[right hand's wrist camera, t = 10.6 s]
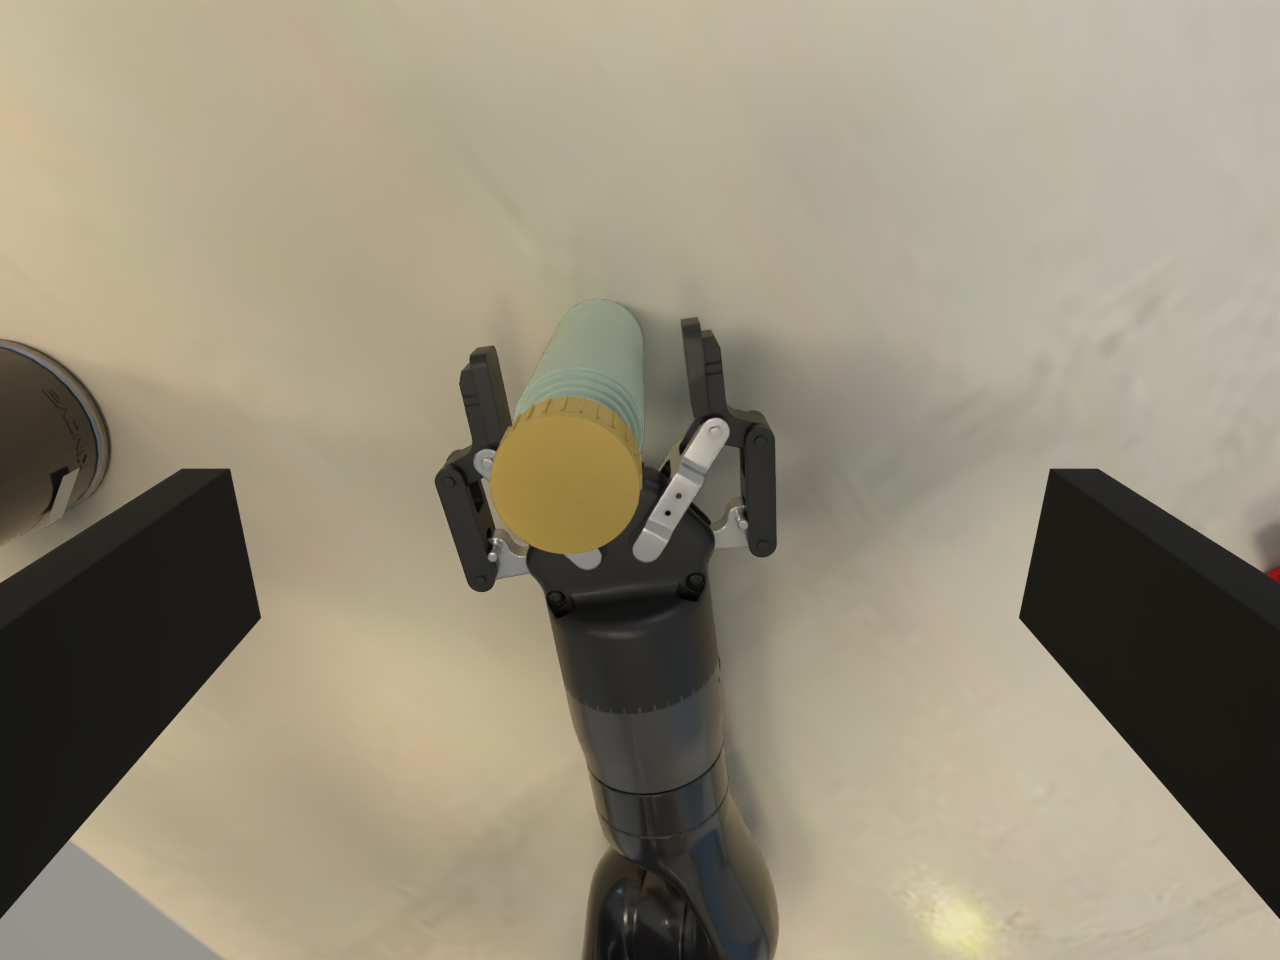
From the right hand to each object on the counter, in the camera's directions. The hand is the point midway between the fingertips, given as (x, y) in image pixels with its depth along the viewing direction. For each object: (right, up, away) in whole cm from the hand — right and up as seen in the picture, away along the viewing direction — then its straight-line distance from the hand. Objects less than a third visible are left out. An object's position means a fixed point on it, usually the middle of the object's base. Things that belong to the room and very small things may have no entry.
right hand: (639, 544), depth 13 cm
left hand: (-2, +7, +18) cm, 20 cm away
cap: (-2, +1, +8) cm, 8 cm away
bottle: (-2, +8, +25) cm, 27 cm away
